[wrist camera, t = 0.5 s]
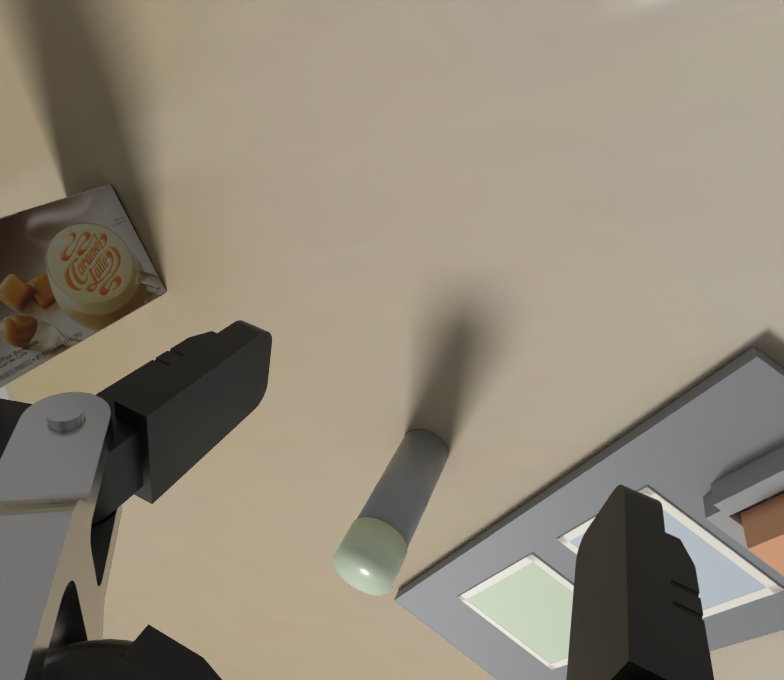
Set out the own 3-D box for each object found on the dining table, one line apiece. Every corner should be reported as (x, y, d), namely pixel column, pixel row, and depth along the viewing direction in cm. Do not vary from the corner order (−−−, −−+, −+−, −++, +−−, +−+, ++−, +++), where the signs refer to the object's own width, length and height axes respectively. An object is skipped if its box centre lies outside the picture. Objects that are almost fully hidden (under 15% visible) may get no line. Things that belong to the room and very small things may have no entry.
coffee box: (64, 201, 40) (-201, 278, 27) (113, 182, 37) (-161, 260, 24) (123, 304, 44) (-88, 415, 31) (171, 295, 40) (-41, 414, 28)
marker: (417, 419, 36) (349, 539, 28) (459, 451, 36) (403, 581, 28) (393, 446, 39) (323, 564, 30) (432, 475, 39) (373, 603, 30)
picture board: (753, 346, 25) (763, 374, 23) (1017, 541, 25) (1051, 587, 23) (398, 591, 49) (387, 615, 47) (530, 692, 48) (525, 722, 46)
